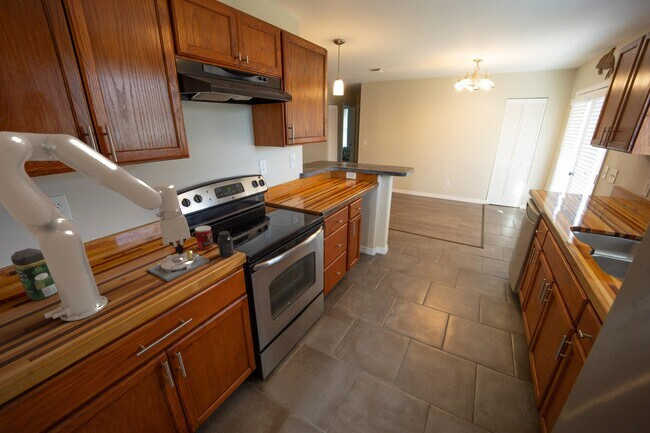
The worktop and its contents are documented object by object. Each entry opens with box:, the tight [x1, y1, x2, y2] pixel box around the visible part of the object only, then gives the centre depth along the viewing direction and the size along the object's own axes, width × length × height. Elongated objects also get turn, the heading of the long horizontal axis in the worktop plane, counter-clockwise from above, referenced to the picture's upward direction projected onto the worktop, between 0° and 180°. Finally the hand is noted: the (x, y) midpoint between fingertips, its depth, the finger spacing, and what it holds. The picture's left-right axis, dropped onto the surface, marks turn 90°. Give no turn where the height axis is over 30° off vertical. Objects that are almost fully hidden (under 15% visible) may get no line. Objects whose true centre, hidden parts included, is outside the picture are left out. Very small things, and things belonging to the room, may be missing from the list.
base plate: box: [146, 252, 211, 282], centre depth 121 cm, size 20×17×1 cm
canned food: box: [194, 225, 214, 251], centre depth 139 cm, size 8×8×11 cm
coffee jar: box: [10, 247, 58, 301], centre depth 98 cm, size 10×8×19 cm
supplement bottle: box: [217, 230, 235, 258], centre depth 130 cm, size 7×7×12 cm
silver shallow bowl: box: [157, 249, 198, 273], centre depth 120 cm, size 15×16×6 cm
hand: (180, 253), depth 115 cm, fingers closed
